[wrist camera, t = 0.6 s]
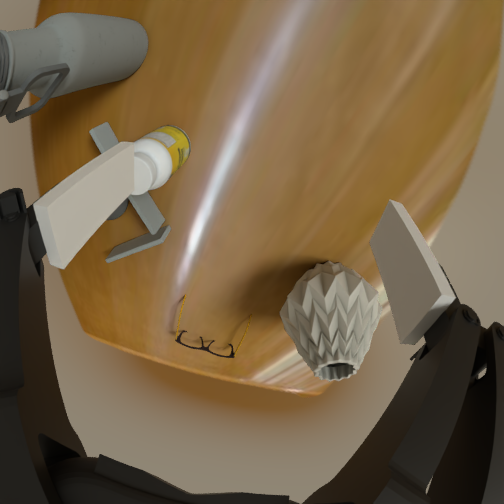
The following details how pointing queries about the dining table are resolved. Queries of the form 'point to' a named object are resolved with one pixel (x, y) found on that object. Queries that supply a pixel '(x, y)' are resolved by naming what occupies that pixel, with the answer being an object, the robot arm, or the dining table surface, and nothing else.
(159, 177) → the pill bottle
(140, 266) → the dining table surface
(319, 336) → the vase
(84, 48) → the water bottle
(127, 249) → the fence end
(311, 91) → the dining table surface
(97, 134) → the fence long
